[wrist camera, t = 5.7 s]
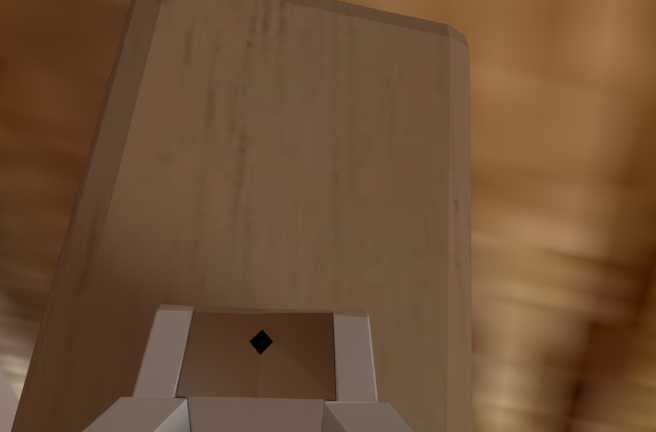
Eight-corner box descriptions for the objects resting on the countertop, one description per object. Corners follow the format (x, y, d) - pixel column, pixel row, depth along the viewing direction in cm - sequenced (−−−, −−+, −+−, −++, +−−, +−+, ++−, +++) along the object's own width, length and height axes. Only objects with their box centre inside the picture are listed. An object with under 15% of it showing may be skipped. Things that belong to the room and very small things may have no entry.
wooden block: (156, 129, 26) (17, 724, 18) (137, -58, 17) (-161, 971, 9) (387, 169, 27) (356, 736, 19) (482, 17, 18) (500, 960, 10)
